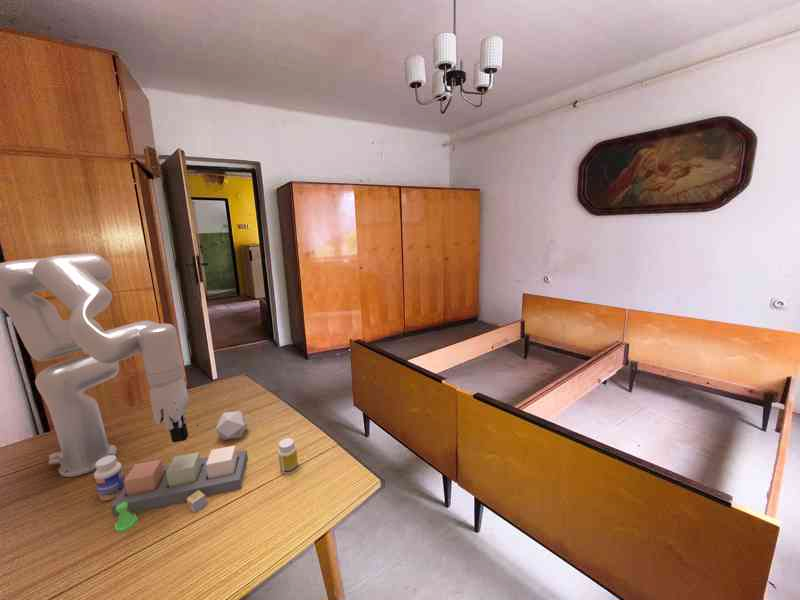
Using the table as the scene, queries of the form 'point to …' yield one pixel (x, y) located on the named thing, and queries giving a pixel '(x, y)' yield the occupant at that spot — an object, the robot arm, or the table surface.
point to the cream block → (221, 462)
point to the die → (231, 425)
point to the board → (184, 488)
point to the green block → (184, 469)
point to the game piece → (124, 518)
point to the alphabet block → (196, 501)
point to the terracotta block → (144, 477)
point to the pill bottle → (109, 477)
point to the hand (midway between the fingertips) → (180, 439)
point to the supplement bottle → (287, 456)
